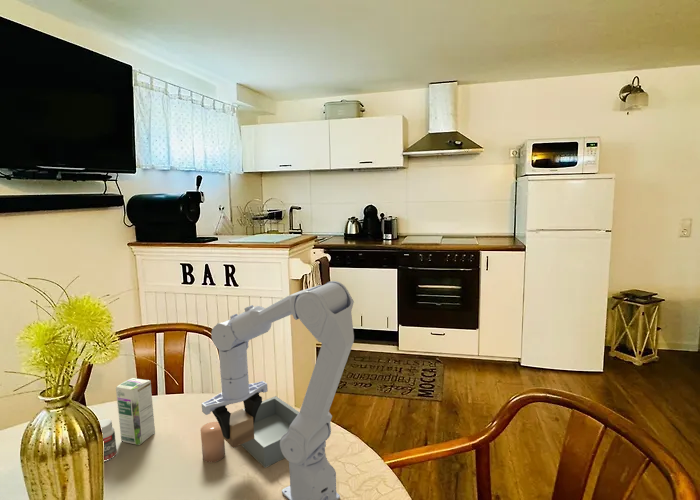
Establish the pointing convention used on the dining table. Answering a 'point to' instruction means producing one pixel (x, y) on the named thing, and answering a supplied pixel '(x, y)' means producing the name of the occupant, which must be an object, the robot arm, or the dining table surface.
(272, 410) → the box
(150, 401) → the syrup box
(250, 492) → the dining table surface
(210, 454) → the terracotta cylinder
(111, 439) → the pill bottle
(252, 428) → the walnut cube
